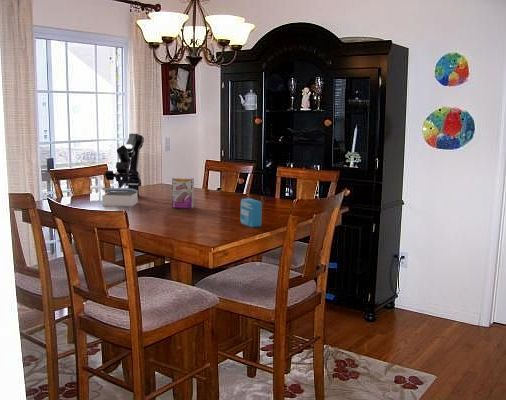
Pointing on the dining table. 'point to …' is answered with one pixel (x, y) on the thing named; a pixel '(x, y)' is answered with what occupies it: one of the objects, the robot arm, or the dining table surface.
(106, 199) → the storage box
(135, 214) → the dining table surface
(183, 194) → the candy bar box
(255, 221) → the data package
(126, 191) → the lid
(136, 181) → the robot arm
